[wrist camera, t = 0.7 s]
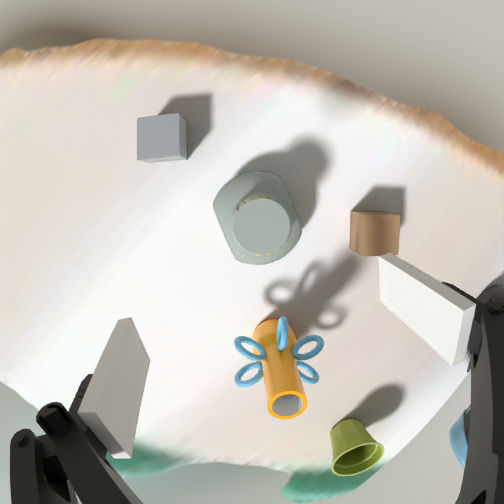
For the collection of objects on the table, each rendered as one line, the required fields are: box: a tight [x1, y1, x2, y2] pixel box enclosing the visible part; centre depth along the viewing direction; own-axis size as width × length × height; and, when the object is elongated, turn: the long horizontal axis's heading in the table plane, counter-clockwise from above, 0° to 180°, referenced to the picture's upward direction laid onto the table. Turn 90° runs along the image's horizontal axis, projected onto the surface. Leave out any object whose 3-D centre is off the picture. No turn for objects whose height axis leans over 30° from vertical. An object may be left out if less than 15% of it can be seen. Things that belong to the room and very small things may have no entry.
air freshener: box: [213, 171, 302, 265], centre depth 33 cm, size 11×8×10 cm
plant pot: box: [330, 419, 384, 476], centre depth 43 cm, size 9×9×9 cm
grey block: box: [137, 113, 187, 163], centre depth 33 cm, size 5×5×5 cm
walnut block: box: [350, 211, 400, 256], centre depth 36 cm, size 5×5×5 cm
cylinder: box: [234, 316, 324, 419], centre depth 34 cm, size 12×10×15 cm
